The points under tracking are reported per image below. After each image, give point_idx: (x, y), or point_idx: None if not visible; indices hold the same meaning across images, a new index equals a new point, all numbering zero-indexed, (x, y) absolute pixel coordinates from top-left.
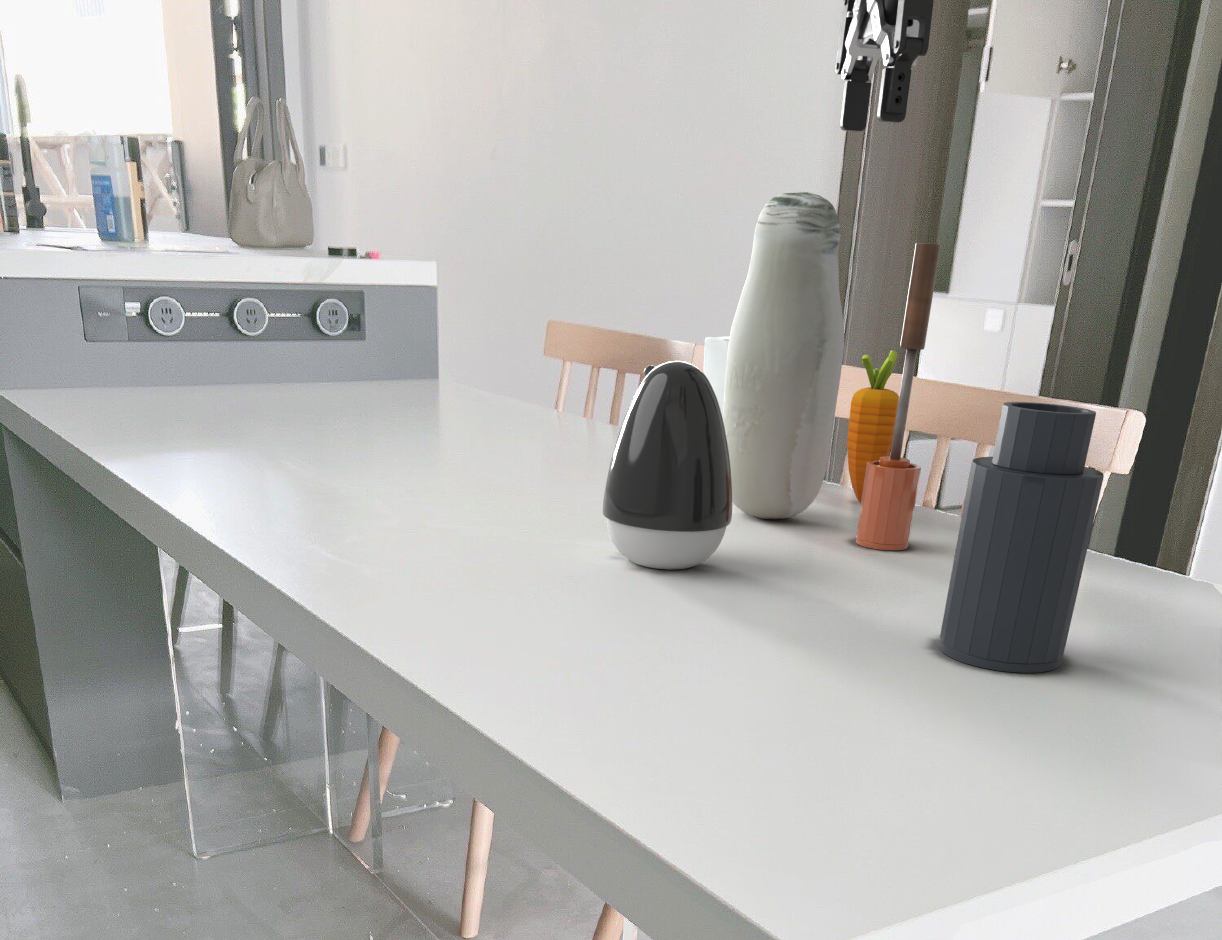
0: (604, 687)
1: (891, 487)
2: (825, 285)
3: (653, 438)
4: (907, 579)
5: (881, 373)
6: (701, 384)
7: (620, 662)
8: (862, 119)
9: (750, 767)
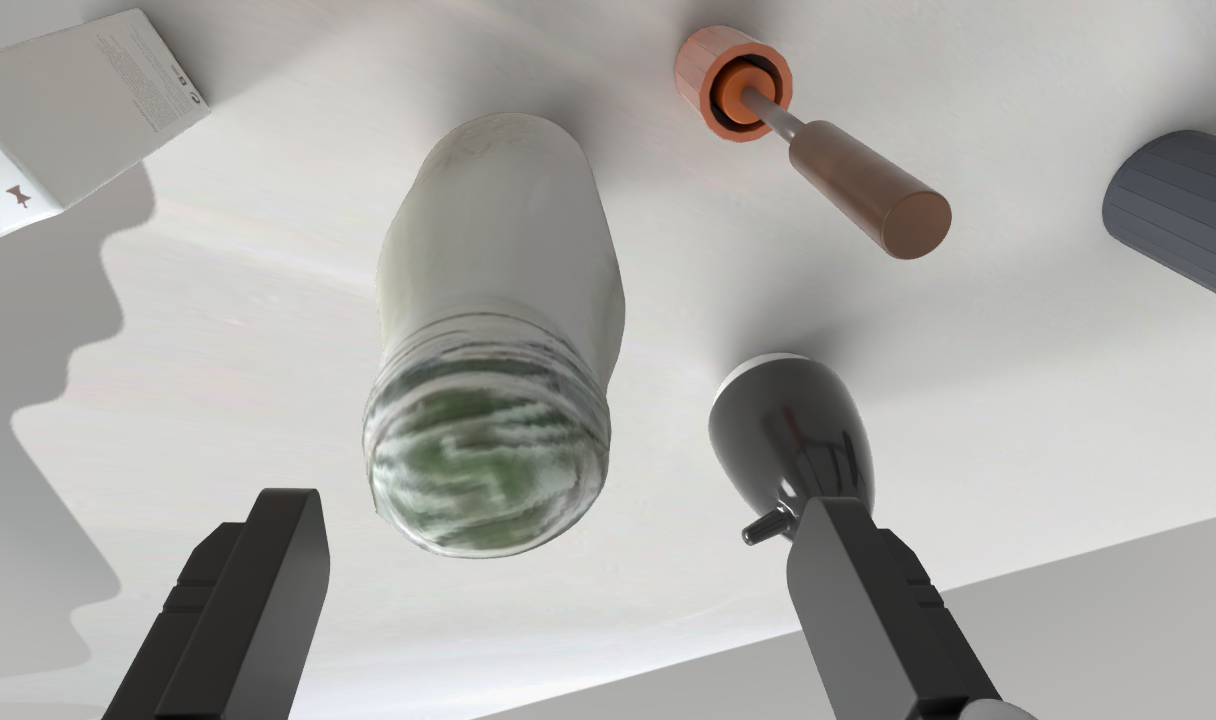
0: (1060, 494)
1: None
2: (591, 319)
3: None
4: (897, 135)
5: None
6: (870, 506)
7: (1022, 478)
8: (299, 539)
9: (1207, 452)
